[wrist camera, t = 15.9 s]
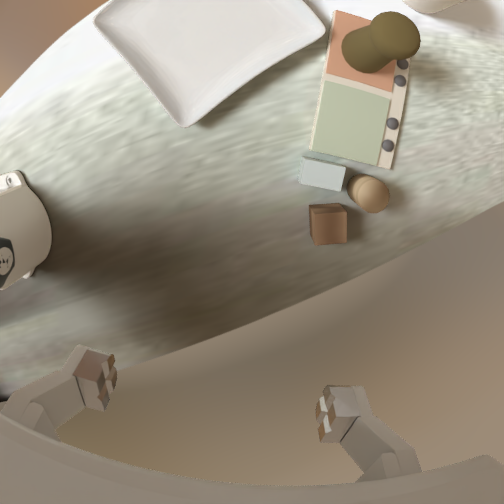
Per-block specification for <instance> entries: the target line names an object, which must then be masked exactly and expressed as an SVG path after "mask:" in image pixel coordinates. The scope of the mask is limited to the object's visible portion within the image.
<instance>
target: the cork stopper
mask: <svg viewBox="0 0 504 504" xmlns="http://www.w3.org/2000/svg"><path fill="white" fill-rule="evenodd" d="M347 192H348V195H349V197H350V198H351V199H352V200H353V201H354V202H355V203H356V204H358V205H359V206H360V207H361V208H362V209H364V210H365V211H366V212H369V213H378V212H380V211H382V210H383V209H384V208H385V207H386V206H387V204H388V202H389V197H390V195H389V190H388V188H387V186H386V185H385V184H384V183H383V182H381V181H379V180H377V179H375V178H373V177H371V176H369V175H367V174H357V175H355V176H353V177H352V178H351V179H350V181H349V183H348V186H347Z"/></svg>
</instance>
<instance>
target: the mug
mask: <svg viewBox="0 0 504 504" xmlns="http://www.w3.org/2000/svg"><path fill="white" fill-rule="evenodd" d="M402 1H403V2H404V3H405V4H406V5H408V6H409V7H410V8H412V9H414V10H416V11H418V12H421V13H426V14H431V13H436V12H439V11H442V10H444V9H446V8H449V7H451V6H453V5H456V4H458V3H461V2H463V1H466V0H402Z"/></svg>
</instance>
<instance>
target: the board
mask: <svg viewBox="0 0 504 504" xmlns="http://www.w3.org/2000/svg"><path fill="white" fill-rule="evenodd" d="M371 22H372V21H371V20H368V19H365V18H362V17H358V16H355V15H352V14H349V13H345V12H342V11H338V10H336V11H334V12H333V14H332V21H331V27H330V33H329V40H328V46H327V52H326V58H325V63H324V69H323V75H322V81H321V86H320V92H319V97H318V103H317V108H316V113H315V119H314V124H313V129H312V134H311V139H310V144H309V150H311V151H315V152H320V153H325V154H329V155H334V156H338V157H342V158H346V159H351V160H355V161H359V162H363V163H366V164H370V165H374V166H379V167H382V168H386V169H390V167H391V163H392V159H393V154H394V150H395V145H396V141H397V136H398V131H399V126H400V121H401V116H402V110H403V105H404V99H405V93H406V87H407V81H408V74H409V67H410V60H411V57H410V58H408V59H404V60H392V61H391V62H390V63H388V64H387V65H386V66H384V67H383V68H382V69H380V70H379V71H378V72H375V73H371V74H370V73H362V72H359V71H356V70H355V69H354V68H352V67H351V66H350V65H349V64H348V63H347V62H346V61H345V59H344V57H343V54H342V49H341V45H342V40H343V39H344V37H345V36H346V34H348V33H349V32H351V31H353V30H356V29H359V28H362V27H365V26H368V25H370V23H371Z"/></svg>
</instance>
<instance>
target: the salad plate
mask: <svg viewBox="0 0 504 504" xmlns="http://www.w3.org/2000/svg"><path fill="white" fill-rule="evenodd" d="M93 24H94V26H95V28H96V29H97V30H98V32H99V33H100V34H101V35H102V36H103V38H104V39H105V40H106V41H107V42H108V43H109V44H110V45H111V46H112V47H113V48H114V49H115V50H116V52H117V53H118V54H119V55H120V56H121V57H122V58H123V59H124V60H125V61H126V63H127V64H128V65H129V66H130V67H131V68H132V69H133V71H134V72H135V73H136V74H137V75H138V77H139V78H140V79H141V80H142V82H143V83H144V84H145V85H146V86H147V88H148V89H149V90H150V91H151V93H152V94H153V95H154V97H155V98H156V99H157V100H158V102H159V103H160V104H161V106H162V107H163V108H164V110H165V111H166V112H167V113H168V115H169V116H170V117H171V118H172V119H173V120H174V122H175V123H176V124H177V125H178V126H180V127H182V128H188V127H190V126H192V125H193V124H195V123H196V122H198V121H199V120H200V119H202V118H203V117H204V116H205V115H207V114H208V113H209V112H210V111H211V110H213V109H214V108H215V107H216V106H218V105H219V104H220V103H221V102H223V101H224V100H225V99H226V98H228V97H229V96H230V95H232V94H233V93H234V92H236V91H237V90H238V89H240V88H241V87H242V86H244V85H245V84H246V83H248V82H249V81H251V80H252V79H253V78H255V77H256V76H258V75H259V74H261V73H262V72H264V71H265V70H267V69H268V68H270V67H272V66H273V65H275V64H276V63H278V62H280V61H282V60H283V59H285V58H287V57H288V56H290V55H292V54H294V53H295V52H297V51H299V50H301V49H303V48H305V47H307V46H308V45H310V44H312V43H314V42H315V41H317V40H318V39H320V38H321V37H322V36H323V35H324V34H325V33H326V28H325V25H324V24H323V22H322V21H321V20H320V19H319V17H318V16H317V15H316V14H315V13H314V11H313V10H312V9H311V8H310V7H309V6H308V5H307V4H306V3H305V2H304V1H303V0H112V1H111V2H109V3H108V4H107V5H106V6H105V7H104V8H103V9H102V10H101V11H100V12H99V13H98V14H97V15H96V16H95V17H94V19H93Z"/></svg>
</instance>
